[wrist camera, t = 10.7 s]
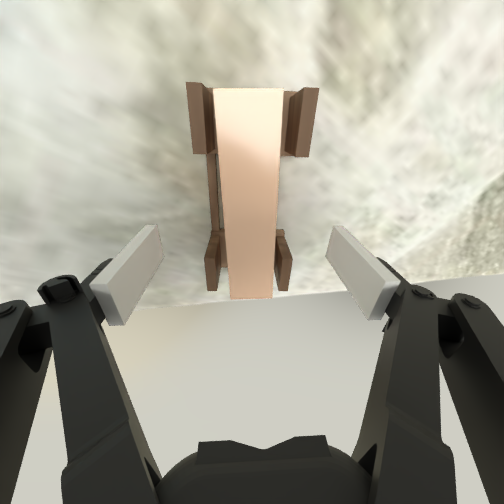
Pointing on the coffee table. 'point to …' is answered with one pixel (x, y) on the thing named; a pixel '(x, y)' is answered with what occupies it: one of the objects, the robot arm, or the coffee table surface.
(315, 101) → the rack
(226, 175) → the peach rectangular block
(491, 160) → the coffee table surface
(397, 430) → the robot arm
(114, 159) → the coffee table surface
